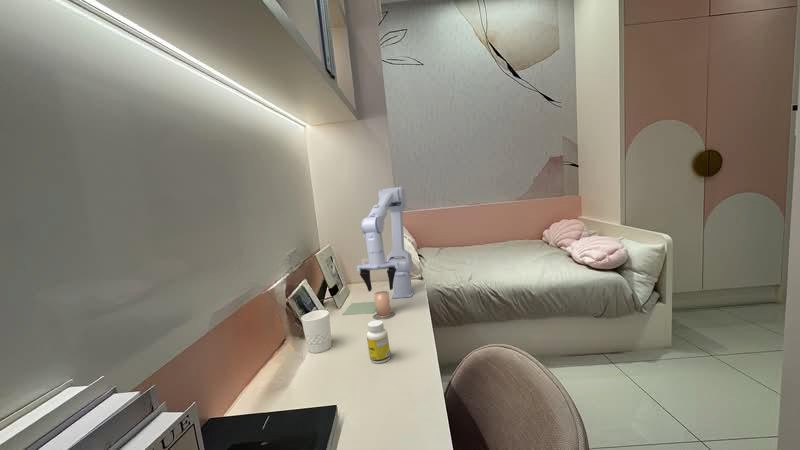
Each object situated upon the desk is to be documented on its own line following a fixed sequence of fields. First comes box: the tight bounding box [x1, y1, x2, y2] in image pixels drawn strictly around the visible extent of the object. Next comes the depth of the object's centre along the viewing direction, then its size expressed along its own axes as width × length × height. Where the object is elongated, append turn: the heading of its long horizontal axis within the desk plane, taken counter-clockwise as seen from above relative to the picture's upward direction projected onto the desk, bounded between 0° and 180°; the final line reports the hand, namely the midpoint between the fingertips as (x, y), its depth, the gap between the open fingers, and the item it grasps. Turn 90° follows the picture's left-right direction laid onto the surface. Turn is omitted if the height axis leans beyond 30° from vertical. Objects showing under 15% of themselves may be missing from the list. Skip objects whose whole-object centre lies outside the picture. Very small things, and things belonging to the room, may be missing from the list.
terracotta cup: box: [373, 290, 392, 318], centre depth 122 cm, size 5×5×8 cm
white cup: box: [300, 309, 333, 354], centre depth 102 cm, size 8×8×10 cm
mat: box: [342, 301, 376, 316], centre depth 133 cm, size 12×12×1 cm
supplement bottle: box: [366, 319, 391, 364], centre depth 90 cm, size 5×5×10 cm
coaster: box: [372, 311, 396, 321], centre depth 122 cm, size 8×8×1 cm
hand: (380, 289), depth 121 cm, fingers open, 7 cm apart
